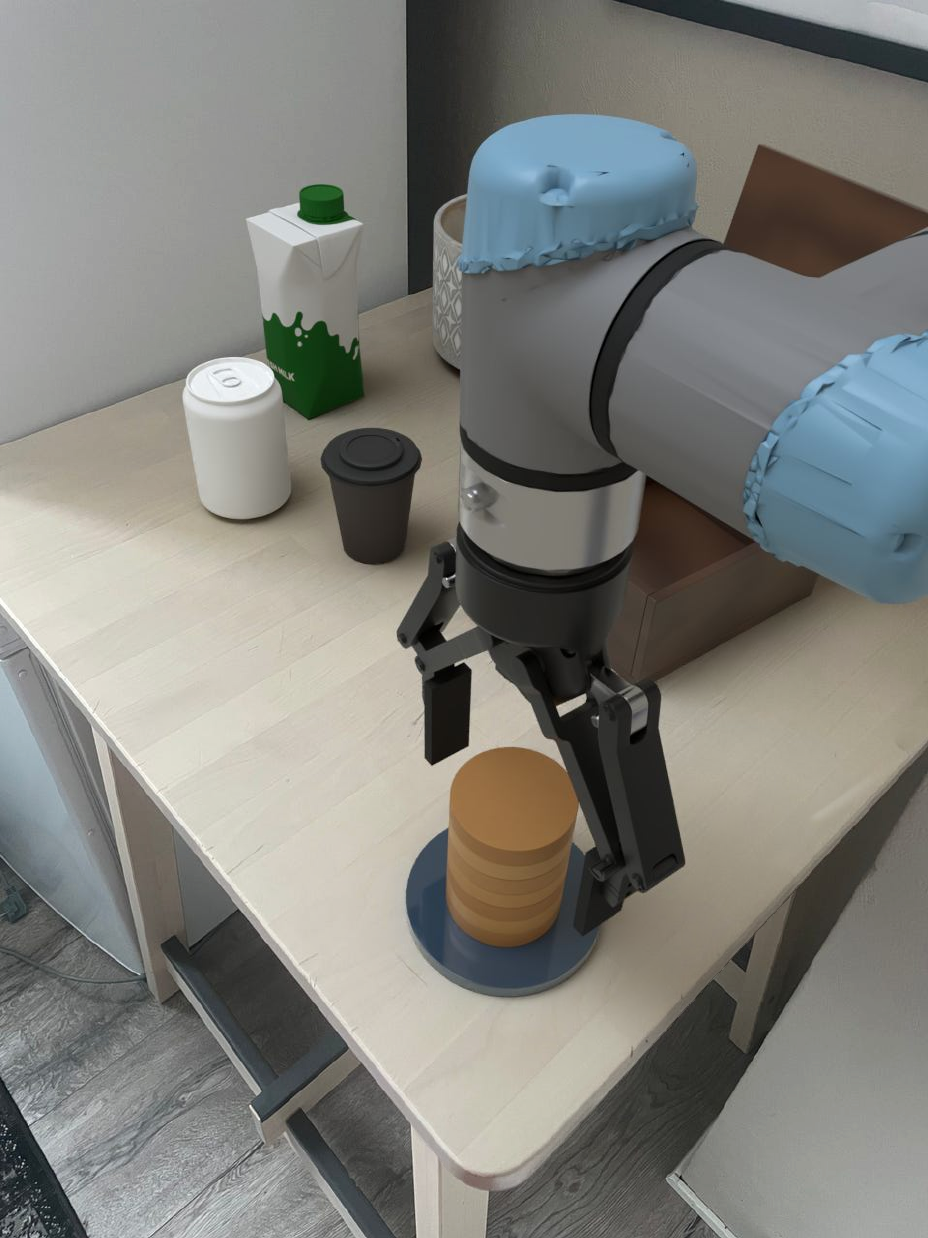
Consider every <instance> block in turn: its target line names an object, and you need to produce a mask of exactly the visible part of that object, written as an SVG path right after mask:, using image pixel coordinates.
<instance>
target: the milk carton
mask: <svg viewBox="0 0 928 1238" xmlns="http://www.w3.org/2000/svg"><path fill="white" fill-rule="evenodd" d="M298 192H299V193H298V197H299V198H298V199H299V202H296V203H293V204H289V205H286V206H282V207H275V208H271V209H269V210H268V211H267V212H265V213H261V214H258V215H254V216H251V217H247V218H245V222H246V226H247V230H248V234H249V239H250V243H251V248H252V252H253V257H254V262H255V265H256V272H257V280H258V281H257V282H258V289H259V299H260V308H261V316H262V317H261V318H262V327H263V337H264V345H265V354H266V365H267V366H268V367H270V369H271V370H272V371H273V373H274V377H275V378H276V380H277V381H278V382H279V384H280V386H281V390H282V398H283V403H285V404H286V405H287V406H289V407H290V408H292V409H293V410H294V411H296V412H298V413H299V414H300V415H302V416H303V417H305V418H306V419H307V420H310V419H313V418H315V417H318V416H320V415H322V414H325V413H327V412H330V411H332V410H335V409H337V408H340V407H341V406H344V405H346V404H349V403H352V402H354V401H356V400H359V399H361V398H364V397H365V387H364V377H363V376H364V375H363V368H362V367H363V366H362V357H361V345H360V344H361V343H360V321H359V294H358V293H359V291H358V260H359V254H360V249H361V243H362V236H363V230H364V223H362V222H361V221H358V220H357V219H356V218H354V217H353V216H352V215H349V213H348V212H347V211H345V198H344V191H343V189H341V187H339V186H336V185H332V184H326V183H318V184H310V185H307V186H304V187H302V188H301V189H300V190H299V191H298Z"/></svg>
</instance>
